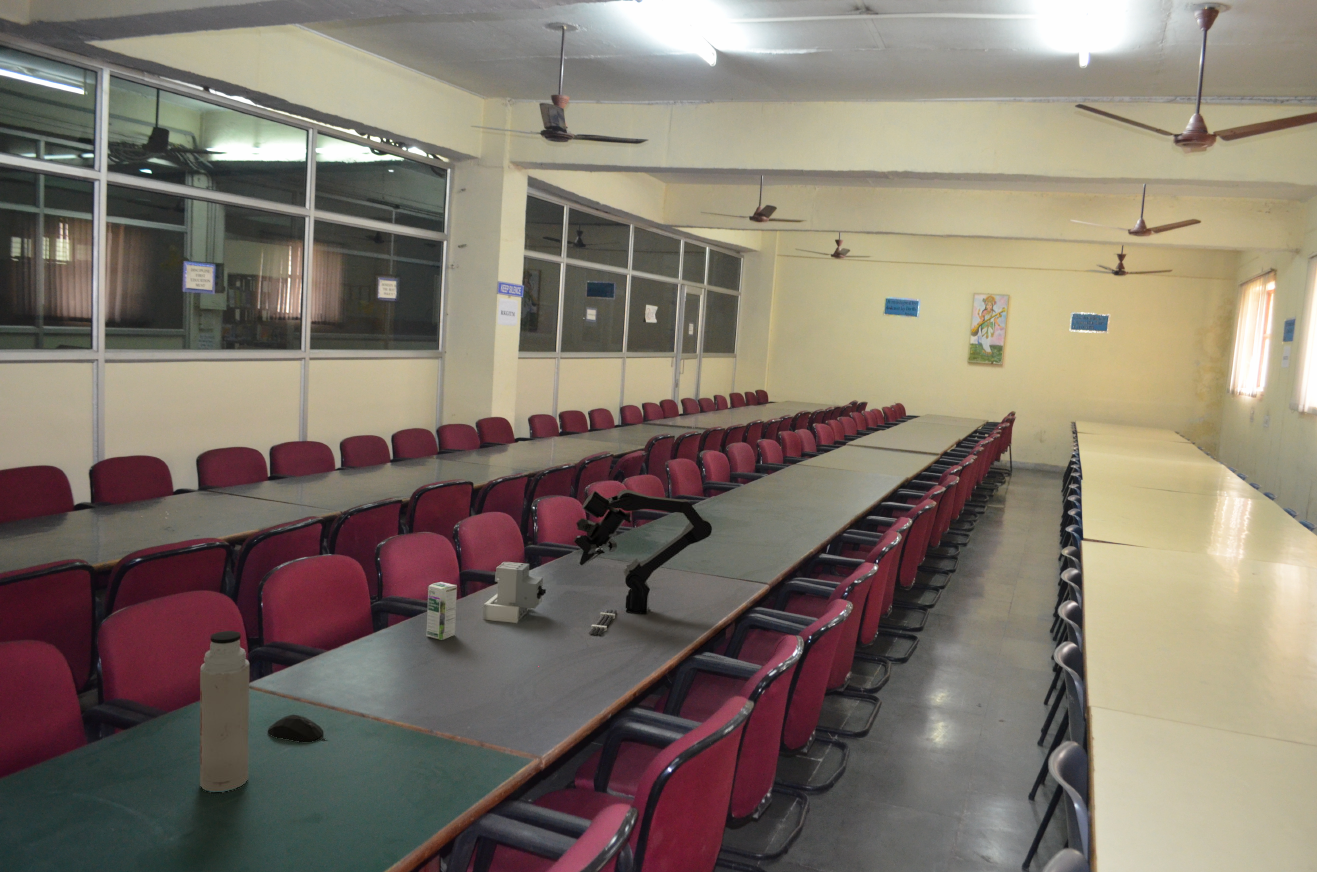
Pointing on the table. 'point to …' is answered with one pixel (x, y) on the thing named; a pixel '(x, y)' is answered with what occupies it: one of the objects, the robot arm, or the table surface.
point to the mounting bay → (500, 611)
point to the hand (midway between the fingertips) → (581, 564)
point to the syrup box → (441, 610)
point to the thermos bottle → (224, 714)
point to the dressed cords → (602, 626)
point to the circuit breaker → (518, 587)
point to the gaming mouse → (296, 729)
